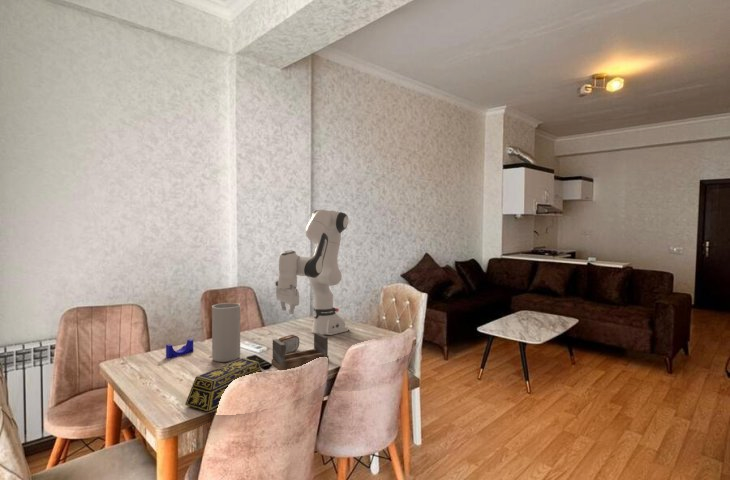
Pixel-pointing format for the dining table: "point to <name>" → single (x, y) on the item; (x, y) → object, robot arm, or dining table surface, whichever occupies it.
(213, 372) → the decorative box
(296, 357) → the holder
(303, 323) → the dining table surface
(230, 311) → the cylinder vase
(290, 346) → the tin
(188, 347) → the cable clip
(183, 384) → the dining table surface
